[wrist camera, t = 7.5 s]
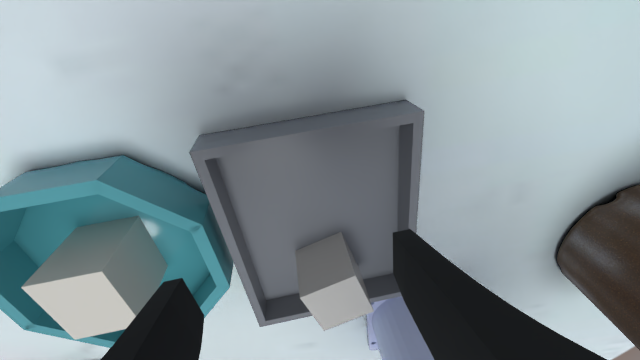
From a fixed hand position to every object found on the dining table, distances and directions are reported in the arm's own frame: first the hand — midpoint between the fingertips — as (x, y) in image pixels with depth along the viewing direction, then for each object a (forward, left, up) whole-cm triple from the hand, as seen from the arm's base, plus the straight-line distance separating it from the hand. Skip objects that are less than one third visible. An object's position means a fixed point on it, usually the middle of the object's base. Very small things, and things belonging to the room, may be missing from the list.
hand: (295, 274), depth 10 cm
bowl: (-5, +12, -10) cm, 17 cm away
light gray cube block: (-10, -2, -10) cm, 14 cm away
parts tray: (-6, -2, -10) cm, 12 cm away
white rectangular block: (-5, +12, -10) cm, 16 cm away
